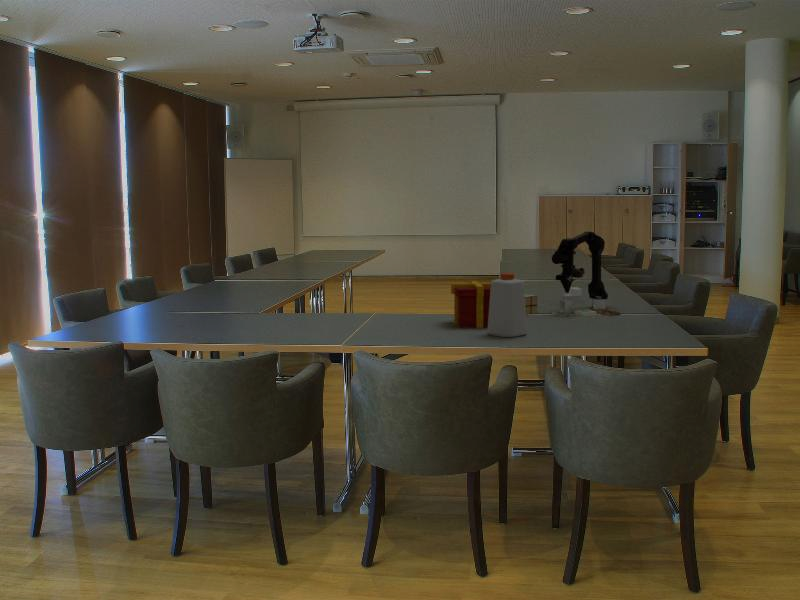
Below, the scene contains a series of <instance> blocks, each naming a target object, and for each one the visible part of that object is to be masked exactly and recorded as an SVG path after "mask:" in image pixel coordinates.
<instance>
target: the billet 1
mask: <svg viewBox="0 0 800 600" xmlns="http://www.w3.org/2000/svg"><path fill="white" fill-rule="evenodd" d="M559 313H560V314H563V315H567V314H573V302H572V301H569V300H564V301H562V300H559Z"/></svg>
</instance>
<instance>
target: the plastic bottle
mask: <svg viewBox="0 0 800 600" xmlns="http://www.w3.org/2000/svg"><path fill="white" fill-rule="evenodd" d="M490 283H491V290H490V303H489V317H488V327H487V330H486V331H487V334H488V335H491V336H494V337H495V336H496V337H500V338H509V339H510V338H515V337H521V336H524V335H527V334H528V333H527V331H528V328H527V327H528V326H527V314H526V309H525V294H526V292H525V282H524V280H522V279H516V278H515V273H512V272H510V273H509V272H505V273H504V272H502V273H501V274H500V278H499V279H493V280H491V282H490Z"/></svg>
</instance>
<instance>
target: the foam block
mask: <svg viewBox="0 0 800 600" xmlns="http://www.w3.org/2000/svg"><path fill="white" fill-rule="evenodd" d="M582 295H583V288H580V287H577V286H576V287H575V286H574V287H572V286H571V287H570V290H569V293H563V294H562V295H561V296H562V297H561V301H564V300H569V301H572V303H582V302H583V301H582V300H583V296H582Z"/></svg>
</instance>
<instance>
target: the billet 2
mask: <svg viewBox="0 0 800 600" xmlns="http://www.w3.org/2000/svg"><path fill="white" fill-rule="evenodd" d="M606 300H607V299H593V298H592V309H593V310H597V311H600V310H605V309H606Z"/></svg>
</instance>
